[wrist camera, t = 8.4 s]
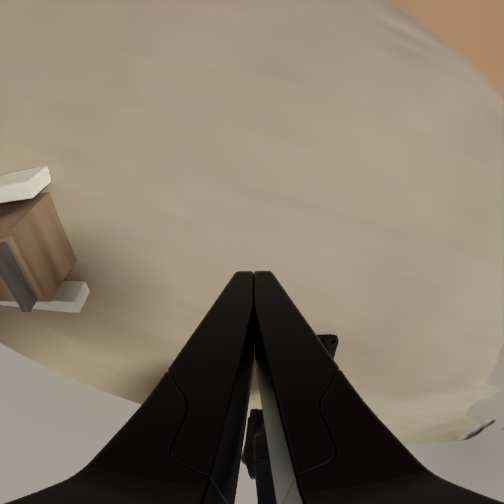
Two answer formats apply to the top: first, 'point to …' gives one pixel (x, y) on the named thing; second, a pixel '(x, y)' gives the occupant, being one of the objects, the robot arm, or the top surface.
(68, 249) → the block
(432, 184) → the top surface
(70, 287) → the bay
